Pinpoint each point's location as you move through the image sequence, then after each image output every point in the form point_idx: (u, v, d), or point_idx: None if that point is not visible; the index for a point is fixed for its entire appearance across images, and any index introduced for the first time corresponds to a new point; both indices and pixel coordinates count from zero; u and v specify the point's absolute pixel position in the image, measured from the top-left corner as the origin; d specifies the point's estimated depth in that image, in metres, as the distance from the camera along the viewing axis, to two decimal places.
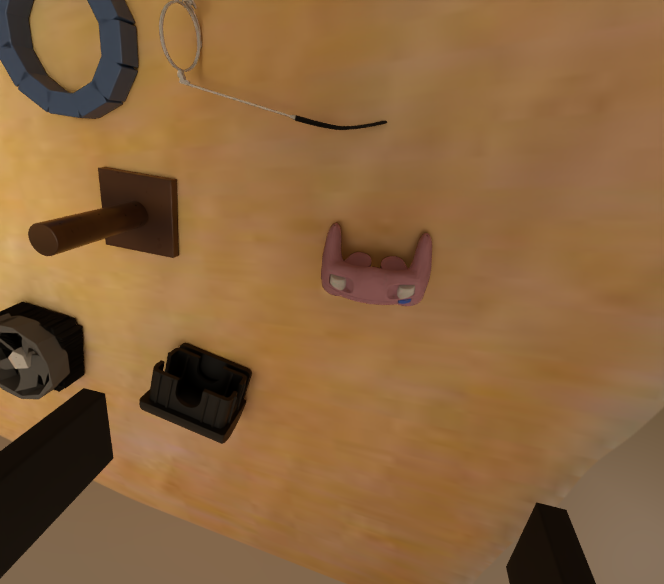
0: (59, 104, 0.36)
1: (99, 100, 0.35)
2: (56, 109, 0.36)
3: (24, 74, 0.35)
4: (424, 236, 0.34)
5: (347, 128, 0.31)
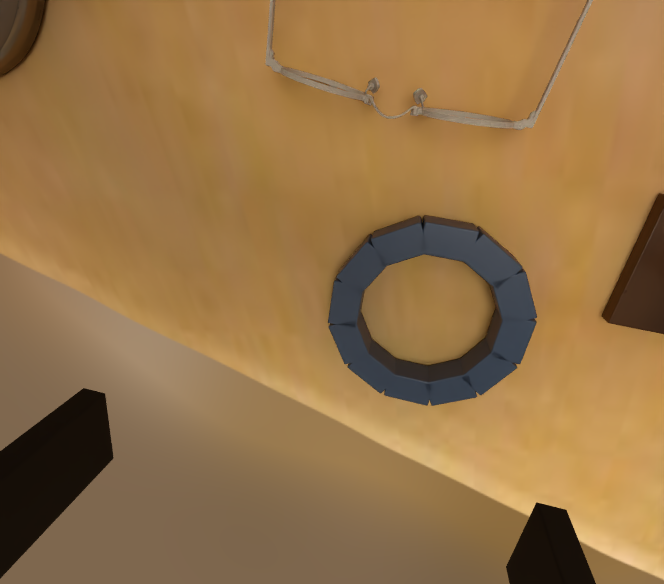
0: (512, 345, 0.25)
1: (520, 282, 0.23)
2: (518, 352, 0.25)
3: (466, 379, 0.27)
4: None
5: None
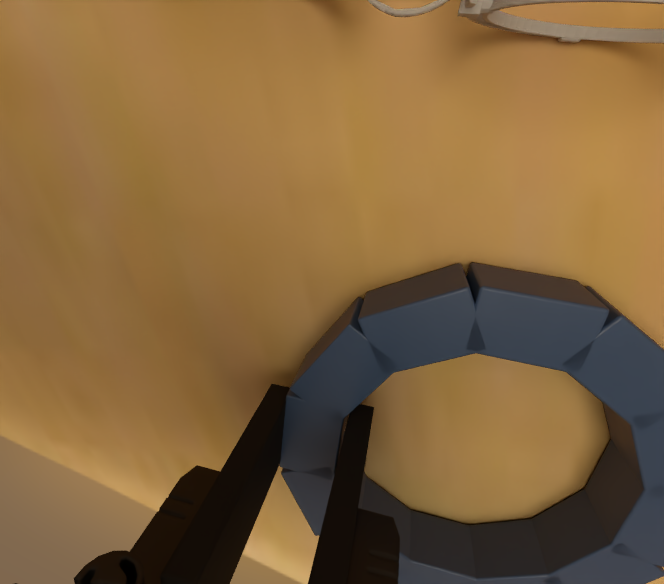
0: (661, 536, 0.12)
1: None
2: None
3: (552, 582, 0.13)
4: None
5: None
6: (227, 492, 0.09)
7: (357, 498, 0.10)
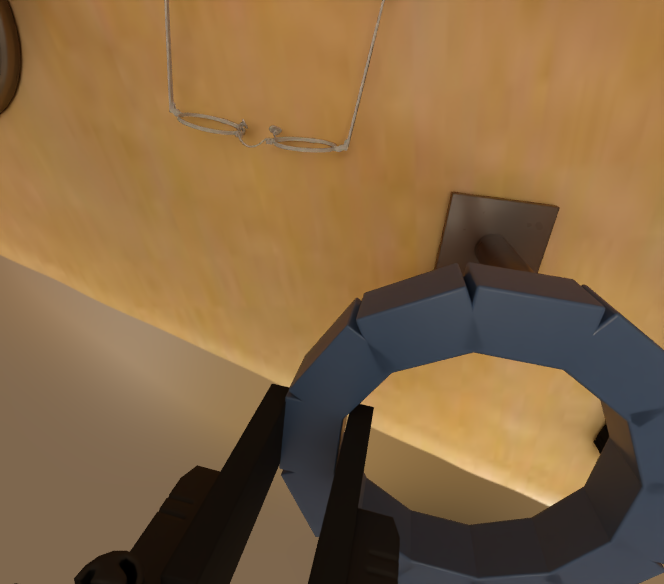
0: (660, 532, 0.12)
1: None
2: None
3: (553, 580, 0.13)
4: None
5: None
6: (227, 492, 0.09)
7: (357, 498, 0.10)
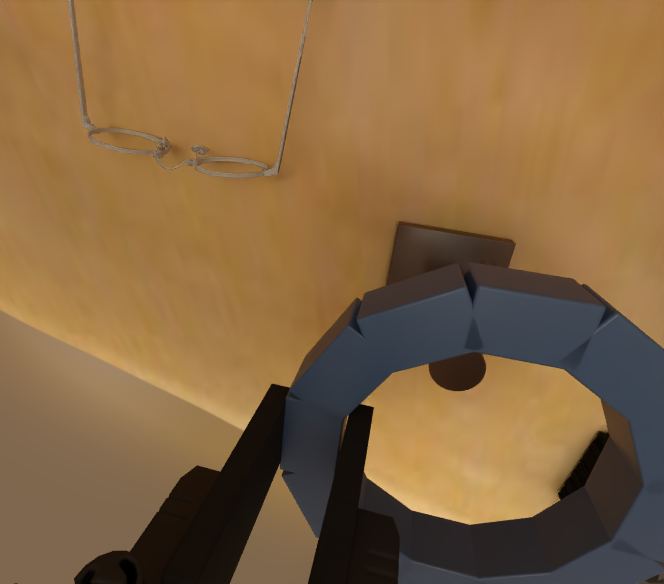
0: (661, 531, 0.12)
1: None
2: None
3: (554, 580, 0.13)
4: None
5: None
6: (227, 492, 0.09)
7: (357, 498, 0.10)
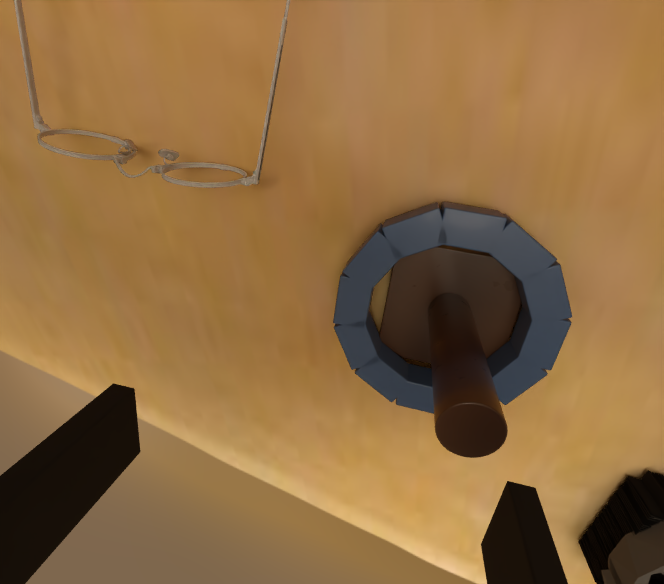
0: (543, 348, 0.22)
1: (554, 276, 0.20)
2: (549, 356, 0.22)
3: None
4: None
5: None
6: None
7: None
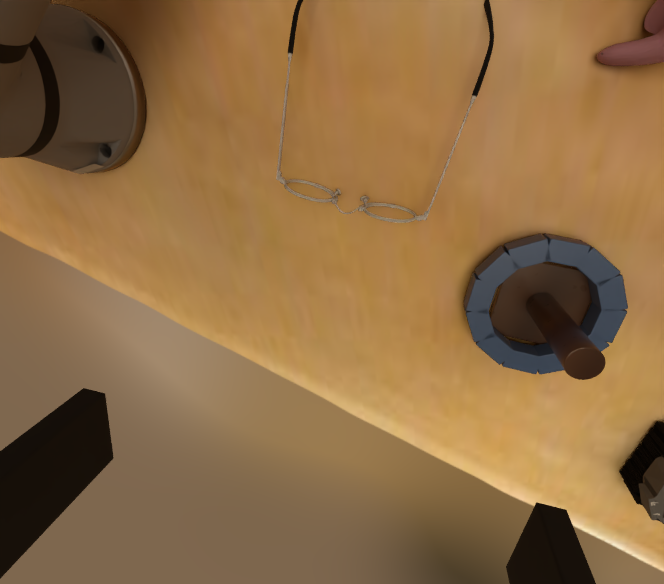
0: (607, 328, 0.35)
1: (618, 282, 0.33)
2: (611, 333, 0.35)
3: None
4: None
5: (492, 34, 0.29)
6: None
7: None
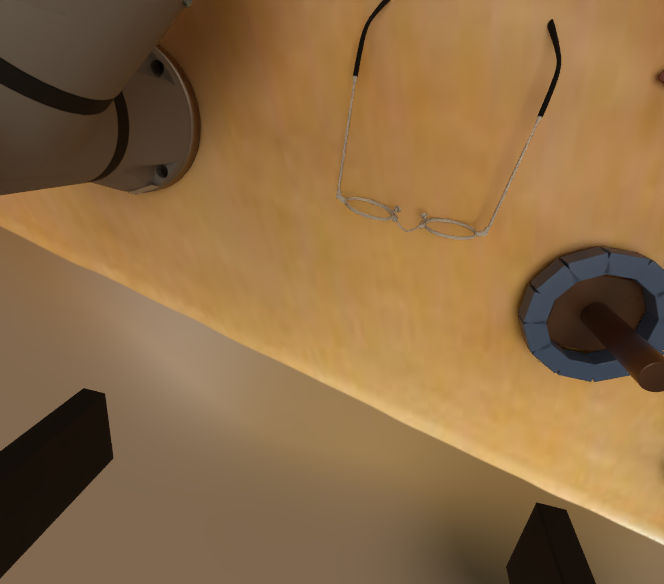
0: None
1: None
2: None
3: None
4: None
5: (560, 57, 0.30)
6: None
7: None
